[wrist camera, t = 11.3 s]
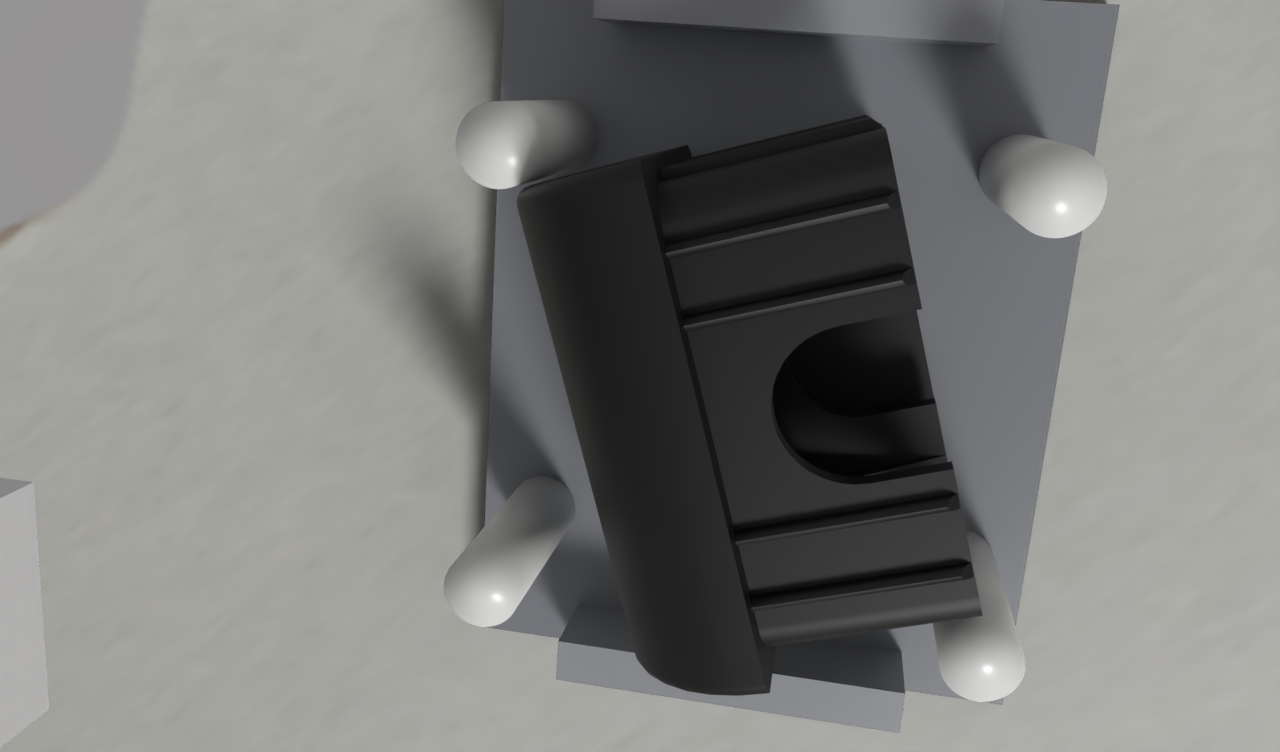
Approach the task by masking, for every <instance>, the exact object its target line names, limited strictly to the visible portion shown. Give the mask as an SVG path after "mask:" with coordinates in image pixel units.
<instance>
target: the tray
mask: <svg viewBox="0 0 1280 752" xmlns="http://www.w3.org/2000/svg"><path fill="white" fill-rule="evenodd" d="M1119 6H1120V5H1116V4H1099V3H1081V2H1064V1H1046V0H504V11H503V39H502V66H501V93H500V101H492V102H486V103H483V104H481V105H478V106H477V107H475V108H473V109H472V110H471V111H470V112H469V113H468V114H467V115H466V116H465V117H464V119H463V120H462V122H461V124H460V126H459V129H458V132H457V137H456V150H457V155H458V159H459V161H460V163H461V165H462V167H463V169H464V170H465V172H466V173H467V174H468V175H469V176H470V177H471V178H472V179H473V180H474V181H475V182H477V183H479V184H480V185H483V186H485V187H488V188H492V189H497V203H496V230H495V257H494V285H493V312H492V340H491V367H490V394H489V422H488V449H487V476H486V504H485V527H484V528H483V529H482V530H481V531H480V533H479V534H478V535H477V536H476V537H475V539H474V540H473V541H472V542H471V543H470V545H469V546H468V547H467V548H466V549H465V550H464V552H463V553H462V554H461V555H460V556H459V558H458V559H457V560H456V561H455V562H454V563H453V565H452V566H451V567H450V568H449V570H448V572H447V574H446V576H445V581H444V592H445V597H446V600H447V602H448V604H449V606H450V608H451V609H452V610H453V612H454V613H455V614H456V615H457V616H458V617H460V618H461V619H462V620H464V621H465V622H467V623H470V624H472V625H475V626H480V627H488V628H495V629H501V630H508V631H515V632H521V633H528V634H535V635H541V636H548V637H555V638H560V639H559V641H558V654H557V672H556V680H563V681H569V682H575V683H582V684H588V685H594V686H601V687H607V688H614V689H620V690H626V691H633V692H639V693H646V694H652V695H658V696H665V697H671V698H678V699H684V700H690V701H697V702H703V703H710V704H716V705H722V706H729V707H735V708H742V709H748V710H754V711H761V712H767V713H773V714H780V715H786V716H793V717H799V718H805V719H812V720H818V721H825V722H831V723H837V724H844V725H850V726H857V727H863V728H869V729H876V730H882V731H889V732H895V733H900V727H901V720H902V713H903V706H904V699H905V690H907V691H913V692H920V693H927V694H933V695H940V696H946V697H953V698H960V699H966V700H973V701H979V702H986V703H993V704H1000V705H1003V699H1004V697H1005V696H1007V695H1008V694H1010V693H1011V692H1013V691H1014V690H1015V689H1016V688H1017V686H1018V685H1019V684H1020V682H1021V681H1022V678H1023V676H1024V673H1025V666H1026V664H1025V656H1024V653H1023V649H1022V646H1021V643H1020V640H1019V636H1018V633H1017V630H1016V621H1017V615H1018V609H1019V603H1020V597H1021V591H1022V585H1023V579H1024V573H1025V567H1026V561H1027V555H1028V550H1029V544H1030V538H1031V532H1032V526H1033V520H1034V514H1035V508H1036V502H1037V496H1038V490H1039V484H1040V478H1041V472H1042V466H1043V460H1044V454H1045V448H1046V442H1047V436H1048V430H1049V424H1050V418H1051V412H1052V406H1053V400H1054V394H1055V388H1056V382H1057V376H1058V370H1059V364H1060V358H1061V352H1062V346H1063V340H1064V334H1065V328H1066V322H1067V316H1068V310H1069V304H1070V298H1071V292H1072V286H1073V281H1074V275H1075V269H1076V263H1077V257H1078V251H1079V245H1080V239H1081V233H1082V230H1084V229H1085V228H1087V227H1088V226H1089V225H1090V224H1091V223H1092V222H1093V221H1094V220H1095V219H1096V218H1097V216H1098V215H1099V214H1100V212H1101V210H1102V208H1103V206H1104V203H1105V200H1106V195H1107V181H1106V176H1105V173H1104V171H1103V169H1102V167H1101V165H1100V164H1099V162H1098V161H1097V160H1096V159H1095V158H1094V155H1095V149H1096V143H1097V137H1098V131H1099V125H1100V119H1101V113H1102V107H1103V101H1104V95H1105V89H1106V83H1107V77H1108V71H1109V65H1110V59H1111V53H1112V47H1113V41H1114V35H1115V29H1116V23H1117V18H1118V12H1119ZM862 115H867V116H869V117H871V118H872V119H874V120H875V121H877V122H878V123H881V124H882V126H883V127H885V128H886V131H887V135H888V140H889V144H890V149H891V154H892V159H893V164H894V169H895V174H896V179H897V184H898V189H899V194H900V199H901V204H902V209H903V214H904V219H905V224H906V229H907V235H908V240H909V245H910V250H911V255H912V260H913V265H914V270H915V275H916V280H917V285H918V290H919V295H920V300H921V306H922V309H920V310H917V314H918V319H919V324H920V329H921V334H922V339H923V344H924V350H925V355H926V360H927V365H928V370H929V375H930V380H931V385H932V390H933V395H934V398H935V401H936V405H937V410H938V416H939V421H940V426H941V431H942V436H943V441H944V446H945V451H946V456H947V461H948V462H950V461H952V464H953V468H954V473H955V478H956V483H957V488H958V493H959V498H960V503H961V508H962V513H963V518H964V523H965V528H966V534H967V539H968V544H969V549H970V554H971V559H972V564H973V569H974V574H975V579H976V584H977V589H978V594H979V600H980V605H981V610H982V616H980V617H973V618H966V619H958V620H951V621H944V622H937V623H930V624H923V625H916V626H909V627H902V628H895V629H888V630H881V631H874V632H867V633H860V634H853V635H846V636H839V637H832V638H825V639H818V640H811V641H804V642H797V643H789V644H782V645H776V651H775V658H774V665H773V673H772V680H771V687H770V693H766V694H754V695H742V696H729V695H708V694H701V693H695V692H688V691H685V690H682V689H679V688H676V687H673V686H670V685H667V684H664V683H663V682H661V681H659V680H658V679H656V678H655V677H653V676H651V675H650V674H649V673H648V672H647V671H646V670H645V669H644V668H643V666H642V665H641V664H640V663H639V662H638V660H637V658H636V655H635V651H634V647H633V644H632V640H631V636H630V632H629V628H628V625H627V621H626V617H625V613H624V609H623V606H622V602H621V598H620V594H619V590H618V587H617V583H616V579H615V575H614V572H613V568H612V564H611V560H610V556H609V553H608V549H607V545H606V541H605V537H604V534H603V530H602V526H601V522H600V518H599V515H598V511H597V507H596V503H595V500H594V496H593V492H592V488H591V484H590V481H589V477H588V473H587V469H586V465H585V462H584V458H583V454H582V450H581V446H580V443H579V439H578V435H577V431H576V428H575V424H574V420H573V416H572V412H571V409H570V405H569V401H568V397H567V393H566V390H565V386H564V382H563V378H562V374H561V371H560V367H559V363H558V359H557V356H556V352H555V348H554V344H553V340H552V337H551V333H550V329H549V325H548V321H547V318H546V314H545V310H544V306H543V302H542V299H541V295H540V291H539V287H538V284H537V280H536V276H535V272H534V268H533V265H532V261H531V257H530V253H529V249H528V246H527V242H526V238H525V234H524V231H523V227H522V223H521V219H520V215H519V212H518V208H517V197H518V194H519V193H520V191H521V190H522V189H524V188H525V187H528V186H530V185H533V184H537V183H540V182H544V181H548V180H551V179H555V178H559V177H563V176H566V175H570V174H574V173H578V172H582V171H586V170H589V169H593V168H597V167H601V166H605V165H609V164H613V163H617V162H621V161H625V160H629V159H633V158H637V157H641V156H645V155H649V154H653V153H657V152H661V151H665V150H669V149H673V148H677V147H681V146H685V145H688V146H689V149H690V151H691V155H692V157H695V156H699V155H703V154H707V153H711V152H715V151H719V150H723V149H728V148H732V147H736V146H740V145H744V144H748V143H752V142H756V141H760V140H764V139H768V138H773V137H777V136H781V135H785V134H789V133H793V132H797V131H801V130H805V129H809V128H813V127H817V126H822V125H826V124H830V123H834V122H838V121H842V120H846V119H850V118H854V117H858V116H862Z"/></svg>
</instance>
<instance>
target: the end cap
mask: <svg viewBox="0 0 1280 752" xmlns="http://www.w3.org/2000/svg"><path fill="white" fill-rule="evenodd" d="M517 208H518V212H519V215H520V219H521V223H522V227H523V231H524V234H525V238H526V242H527V246H528V249H529V253H530V257H531V261H532V265H533V268H534V272H535V276H536V280H537V284H538V287H539V291H540V295H541V299H542V302H543V306H544V310H545V314H546V318H547V321H548V325H549V329H550V333H551V337H552V340H553V344H554V348H555V352H556V356H557V359H558V363H559V367H560V371H561V374H562V378H563V382H564V386H565V390H566V393H567V397H568V401H569V405H570V409H571V412H572V416H573V420H574V424H575V428H576V431H577V435H578V439H579V443H580V446H581V450H582V454H583V458H584V462H585V465H586V469H587V473H588V477H589V481H590V484H591V488H592V492H593V496H594V500H595V503H596V507H597V511H598V515H599V518H600V522H601V526H602V530H603V534H604V537H605V541H606V545H607V549H608V553H609V556H610V560H611V564H612V568H613V572H614V575H615V579H616V583H617V587H618V590H619V594H620V598H621V602H622V606H623V609H624V613H625V617H626V621H627V625H628V628H629V632H630V636H631V640H632V644H633V647H634V651H635V655H636V658H637V660H638V662H639V663H640V664H641V665H642V666H643V668H644V669H645V670H646V671H647V672H648V673H649V674H650V675H651V676H653V677H655V678H656V679H658V680H659V681H661V682H663V683H664V684H667V685H670V686H673V687H676V688H679V689H682V690H685V691H688V692H695V693H701V694H708V695H729V696H742V695H754V694H766V693H770V687H771V680H772V673H773V665H774V658H775V651H776V645H782V644H789V643H797V642H804V641H811V640H818V639H825V638H832V637H839V636H846V635H853V634H860V633H867V632H874V631H881V630H888V629H895V628H902V627H909V626H916V625H923V624H930V623H937V622H944V621H951V620H958V619H966V618H973V617H980V616H982V610H981V605H980V600H979V594H978V589H977V584H976V579H975V574H974V569H973V564H972V559H971V554H970V549H969V544H968V539H967V534H966V528H965V523H964V518H963V513H962V508H961V503H960V498H959V493H958V488H957V483H956V478H955V473H954V468H953V464H952V461H950V462H948V461H947V456H946V451H945V446H944V441H943V436H942V431H941V426H940V421H939V416H938V410H937V405H936V401H935V398H934V395H933V390H932V385H931V380H930V375H929V370H928V365H927V360H926V355H925V350H924V344H923V339H922V334H921V329H920V324H919V319H918V314H917V310H920V309H922V306H921V300H920V295H919V290H918V285H917V280H916V275H915V270H914V265H913V260H912V255H911V250H910V245H909V240H908V235H907V229H906V224H905V219H904V214H903V209H902V204H901V199H900V194H899V189H898V184H897V179H896V174H895V169H894V164H893V159H892V154H891V149H890V144H889V140H888V135H887V131H886V128H885V127H883V126H882V124H881V123H878V122H877V121H875V120H874V119H872V118H871V117H869V116H867V115H862V116H858V117H854V118H850V119H846V120H842V121H838V122H834V123H830V124H826V125H822V126H817V127H813V128H809V129H805V130H801V131H797V132H793V133H789V134H785V135H781V136H777V137H773V138H768V139H764V140H760V141H756V142H752V143H748V144H744V145H740V146H736V147H732V148H728V149H723V150H719V151H715V152H711V153H707V154H703V155H699V156H695V157H692V155H691V151H690V149H689V146H688V145H685V146H681V147H677V148H673V149H669V150H665V151H661V152H657V153H653V154H649V155H645V156H641V157H637V158H633V159H629V160H625V161H621V162H617V163H613V164H609V165H605V166H601V167H597V168H593V169H589V170H586V171H582V172H578V173H574V174H570V175H566V176H563V177H559V178H555V179H551V180H548V181H544V182H540V183H537V184H533V185H530V186H528V187H525V188H524V189H522V190H521V191H520V193H519V194H518V197H517Z"/></svg>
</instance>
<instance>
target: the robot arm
mask: <svg viewBox="0 0 1280 752" xmlns="http://www.w3.org/2000/svg"><path fill="white" fill-rule="evenodd" d="M48 709H49V701H48V686H47V672H46V657H45V643H44V628H43V614H42V599H41V585H40V570H39V556H38V542H37V527H36V513H35V498H34V484H33V482H28V481H20V480H13V479H5V478H0V747H1V746H3V745H4V744H5V743H7V742H8V741H9V740H10V739H12V738H13V737H14V736H15V735H17V734H18V733H19V732H21V731H22V730H23V729H24V728H26V727H27V726H28V725H29V724H31V723H32V722H33V721H34V720H36V719H37V718H38V717H40V716H41V715H42V714H43V713H45V712H46V711H47V710H48Z"/></svg>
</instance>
